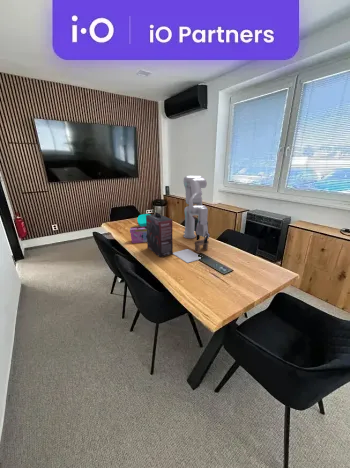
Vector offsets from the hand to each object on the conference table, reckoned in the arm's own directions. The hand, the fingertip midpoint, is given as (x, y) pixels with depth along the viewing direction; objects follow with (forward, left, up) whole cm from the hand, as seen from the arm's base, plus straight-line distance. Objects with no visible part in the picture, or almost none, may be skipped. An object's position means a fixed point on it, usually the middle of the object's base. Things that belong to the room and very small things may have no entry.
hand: (201, 241), depth 172 cm
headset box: (-18, -31, -8) cm, 37 cm away
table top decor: (-78, -8, -8) cm, 79 cm away
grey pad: (+3, -17, -8) cm, 19 cm away
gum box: (-48, -32, -8) cm, 58 cm away
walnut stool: (0, 0, -8) cm, 8 cm away
